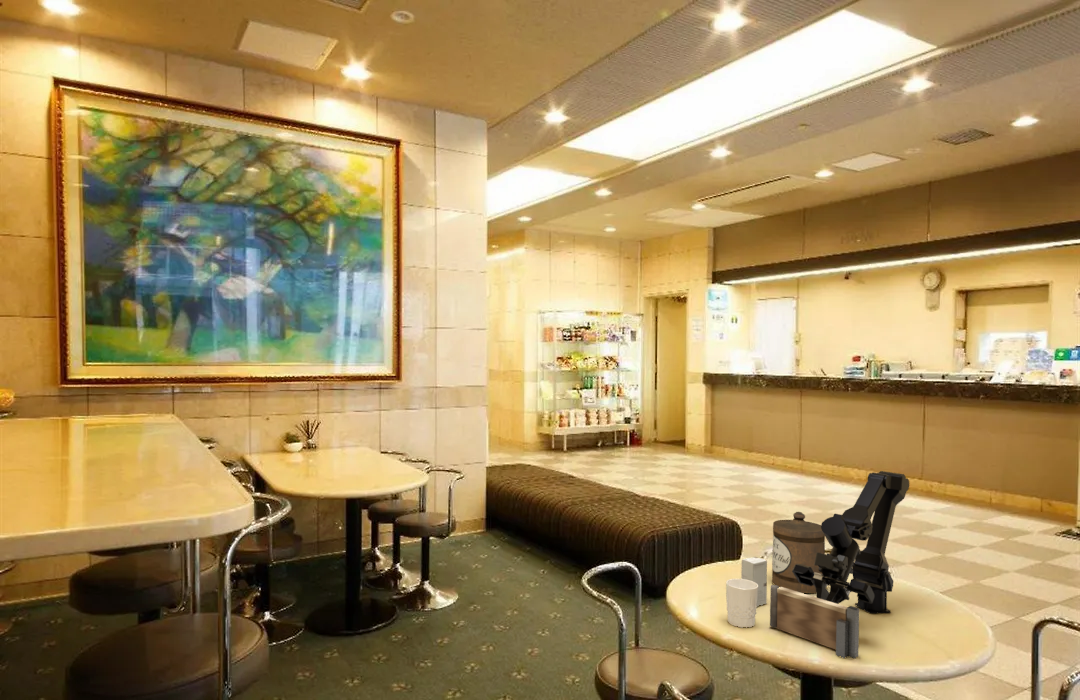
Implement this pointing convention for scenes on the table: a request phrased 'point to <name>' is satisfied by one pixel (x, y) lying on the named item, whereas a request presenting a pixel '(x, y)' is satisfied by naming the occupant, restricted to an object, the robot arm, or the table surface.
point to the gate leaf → (805, 615)
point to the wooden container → (795, 550)
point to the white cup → (741, 602)
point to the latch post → (848, 634)
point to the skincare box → (756, 576)
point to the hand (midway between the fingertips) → (820, 612)
